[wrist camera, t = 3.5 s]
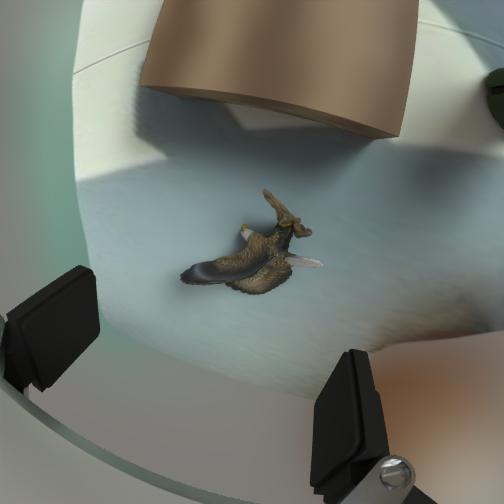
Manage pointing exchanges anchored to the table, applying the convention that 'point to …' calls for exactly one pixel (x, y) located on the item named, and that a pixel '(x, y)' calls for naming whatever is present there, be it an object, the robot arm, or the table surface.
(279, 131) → the table surface
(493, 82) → the character mug
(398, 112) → the walnut block
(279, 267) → the eagle figurine
